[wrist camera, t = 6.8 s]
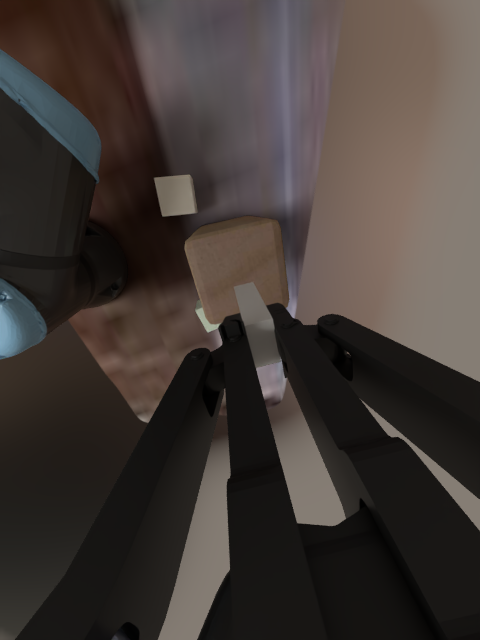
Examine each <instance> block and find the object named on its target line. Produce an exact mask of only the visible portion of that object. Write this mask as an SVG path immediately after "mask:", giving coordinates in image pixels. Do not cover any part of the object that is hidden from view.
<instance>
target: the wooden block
mask: <svg viewBox="0 0 480 640" xmlns="http://www.w3.org/2000/svg"><path fill="white" fill-rule="evenodd" d="M185 252H186V256H187V259H188V262H189V265H190V269H191V272H192V275H193V278H194V282H195V285H196V288H197V291H198V295H199V298H200V301H201V304H202V308H203V311H204V314H205V317H206V319H207V320H208V322H209V323H210V324H215V325H216V324H220V323H222V322H223V320H224V318H225V317H226V316H230V315H233V314H237V313H240V309H239V305H238V301H237V297H236V293H235V289H234V287H235V286H239V285H243V284H247V283H251V282H253V283H254V285H255V286H256V288H257V290H258V292H259V294H260V296H261V298H262V300H263V301H264V303H265V305H270V304H274V303H280V304H283V305H284V307H285V308H286V307H287V306H288V302H289V292H288V284H287V276H286V268H285V259H284V251H283V243H282V234H281V227H280V225H279V223H278V221H277V220H274V219H268V218H261V217H254V216H243V217H239V218H234V219H230V220H226V221H221V222H217V223H213V224H209V225H204V226H201V227H200V228H198V229H197V230H196V231H195V232H194V233H193V234H192V235H191V236H190V237H189V238H188V239H187V240H186V241H185Z"/></svg>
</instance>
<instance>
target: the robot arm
mask: <svg viewBox="0 0 480 640" xmlns="http://www.w3.org/2000/svg"><path fill="white" fill-rule="evenodd" d="M100 155H101V141H100V138H99V135H98V133H97V131H96V129H95V128H94V127H93V125H92V124H91V123H90V121H89V120H88V119H87V118H86V117H85V116H84V115H83V114H82V113H81V112H80V111H79V110H78V109H76V108H75V107H74V106H73V105H72V104H71V103H70V102H68V101H67V100H66V99H65V98H64V97H62V96H61V95H60V94H59V93H58V92H56V91H55V90H54V89H53V88H51V87H50V86H49V85H48V84H46V83H45V82H44V81H42V80H41V79H40V78H39V77H37V76H36V75H35V74H33V73H32V72H31V71H29V70H28V69H27V68H25V67H24V66H23V65H21V64H20V63H19V62H17V61H16V60H15V59H13V58H12V57H11V56H9V55H8V54H6V53H5V52H4V51H2V50H1V49H0V359H4V358H7V357H11V356H14V355H16V354H19V353H21V352H22V351H24V350H26V349H28V348H29V347H31V346H33V345H36V344H38V343H40V341H42V340H43V338H45V336H46V335H48V334H49V333H50V332H52V331H53V330H54V329H56V328H57V327H58V326H60V325H61V324H62V323H64V322H65V321H67V320H68V319H69V318H71V317H72V316H73V315H75V314H76V313H77V312H79V311H80V310H81V309H87V308H94V307H99V306H102V305H104V304H106V303H108V302H110V301H111V300H113V299H114V298H115V297H116V296H117V295H118V294H119V293H120V292H121V291H122V290H123V288H124V286H125V284H126V281H127V276H128V267H127V262H126V258H125V256H124V253H123V251H122V249H121V248H120V246H119V244H118V243H117V242H116V241H115V239H114V238H113V237H112V236H111V235H110V234H109V233H108V232H106V231H105V230H104V229H102V228H101V227H99V226H98V225H96V224H94V223H92V222H89V221H88V219H89V215H90V210H91V205H92V200H93V195H94V191H95V186H96V184H98V182H99V177H98V168H99V162H100ZM234 289H235V293H236V297H237V301H238V305H239V309H240V313H237V314H233V315H230V316H226V317H225V318H224V320H223V322H222V323H221V324H220V325H219V327H218V329H219V332H220V336H221V339H222V344H223V345H222V346H221V347H219V348H218V349H216V350H214V351H212V352H210V351H209V349H207V348H198V349H195V350H192V351H191V352H190V353H188V354H187V355H186V356H185V358H184V360H183V362H182V363H181V365H180V367H179V369H178V371H177V372H176V374H175V376H174V378H173V380H172V382H171V383H170V385H169V387H168V389H167V391H166V392H165V394H164V396H163V398H162V400H161V401H160V403H159V405H158V407H157V409H156V411H155V412H154V414H153V416H152V418H151V420H150V421H149V423H148V425H147V427H146V429H145V431H144V432H143V434H142V436H141V438H140V440H139V441H138V443H137V445H136V447H135V449H134V450H133V452H132V454H131V456H130V458H129V459H128V461H127V464H126V465H125V467H124V469H123V470H122V472H121V474H120V476H119V478H118V479H117V481H116V483H115V485H114V487H113V489H112V491H111V492H110V494H109V496H108V498H107V499H106V501H105V503H104V505H103V507H102V508H101V510H100V512H99V514H98V516H97V517H96V519H95V521H94V523H93V525H92V527H91V528H90V530H89V532H88V534H87V536H86V538H85V539H84V541H83V543H82V545H81V546H80V549H79V550H78V552H77V554H76V556H75V557H74V559H73V561H72V563H71V565H70V566H69V568H68V570H67V572H66V574H65V575H64V577H63V578H62V579H61V581H60V582H59V583H58V585H57V586H56V587H55V588H54V590H53V591H52V592H51V594H50V595H49V596H48V597H47V599H46V600H45V601H44V603H43V604H42V605H41V607H40V608H39V609H38V611H37V612H36V613H35V614H34V616H33V617H32V618H31V619H30V621H29V622H28V623H27V625H26V626H25V627H24V629H23V630H22V631H21V632H20V634H19V635H18V636H17V638H16V639H15V640H158V637H159V634H160V631H161V629H162V626H163V623H164V621H165V618H166V614H167V611H168V607H169V604H170V600H171V597H172V594H173V590H174V587H175V583H176V579H177V575H178V571H179V567H180V563H181V559H182V555H183V551H184V548H185V544H186V540H187V535H188V532H189V528H190V524H191V520H192V516H193V512H194V508H195V504H196V501H197V496H198V493H199V489H200V485H201V481H202V477H203V473H204V469H205V465H206V461H207V457H208V454H209V449H210V445H211V442H212V438H213V434H214V430H215V426H216V422H217V418H218V414H219V410H220V407H221V403H222V399H223V395H224V389H225V391H226V406H227V422H228V436H229V453H230V468H231V476H230V478H229V479H228V481H227V509H228V529H229V530H228V531H229V553H230V571H229V572H228V573H227V575H226V576H225V578H224V580H223V582H222V584H221V585H220V587H219V589H218V591H217V594H216V596H215V598H214V601H213V603H212V605H211V608H210V610H209V613H208V615H207V618H206V620H205V622H204V625H203V627H202V629H201V632H200V634H199V637H198V639H197V640H480V531H479V530H478V528H477V527H476V526H475V525H474V523H473V522H472V521H471V520H470V519H469V517H468V516H467V515H466V514H465V513H464V511H463V510H462V509H461V508H460V506H459V505H458V504H457V503H456V502H455V500H454V499H453V498H452V497H451V496H450V494H449V493H448V492H447V491H446V490H445V488H444V487H443V486H442V485H441V483H440V482H439V481H438V480H437V479H436V478H435V476H434V475H433V474H432V473H431V471H430V470H429V469H428V468H427V466H426V465H425V464H424V463H423V462H422V461H421V459H420V458H419V457H418V455H417V454H416V453H415V452H414V451H413V449H412V448H411V447H410V446H409V445H408V444H407V443H406V442H405V441H404V440H402V439H400V438H399V437H390V436H388V435H387V433H386V432H385V431H384V430H383V429H382V427H381V426H380V425H379V423H378V422H377V421H376V419H375V418H374V417H373V416H372V414H371V413H370V412H369V410H368V409H367V408H366V406H365V405H364V404H363V403H362V401H364V402H365V403H366V404H367V405H368V406H369V407H371V408H372V409H373V410H374V411H375V412H377V413H378V414H379V415H380V416H381V417H382V418H384V419H385V420H386V421H387V422H388V423H390V424H391V425H392V426H393V427H394V428H396V429H397V430H398V431H399V432H400V433H402V434H403V435H404V436H405V437H407V439H409V440H410V441H411V442H412V443H413V444H415V445H416V446H417V447H418V448H419V449H421V450H422V451H423V452H424V453H425V454H427V455H428V456H429V457H430V458H431V459H432V460H434V461H435V462H436V463H437V464H438V465H439V466H441V467H442V468H443V469H444V470H445V471H447V472H448V473H449V474H450V475H451V476H452V477H454V478H455V479H456V480H457V481H459V482H460V483H461V484H462V485H463V486H464V487H466V488H467V489H468V490H469V491H470V492H472V493H473V494H474V495H475V496H476V497H477V498H479V499H480V382H478V381H476V380H474V379H472V378H470V377H468V376H466V375H464V374H462V373H460V372H458V371H455V370H453V369H451V368H449V367H447V366H445V365H443V364H441V363H439V362H437V361H435V360H433V359H431V358H428V357H426V356H424V355H422V354H420V353H418V352H416V351H414V350H412V349H410V348H407V347H406V346H403V345H401V344H399V343H397V342H395V341H393V340H391V339H389V338H387V337H384V336H383V335H381V334H379V333H376V332H374V331H372V330H370V329H368V328H366V327H364V326H362V325H360V324H358V323H356V322H354V321H352V320H350V319H347V318H345V317H343V316H341V315H335V314H328V315H325V316H322V317H320V318H319V319H318V320H317V322H318V323H317V324H318V325H303V324H302V323H301V321H299V320H298V319H294V318H292V316H291V315H290V314H289V312H288V311H287V309H286V308H285V307H284V305H283V304H280V303H274V304H270V305H265V303H264V301H263V300H262V298H261V296H260V294H259V292H258V290H257V288H256V286H255V285H254V283H253V282H251V283H247V284H243V285H239V286H235V287H234ZM347 352H348V353H349V354H350V355H351V356H350V355H349V354H347ZM280 357H281V359H282V364H283V370H284V375H285V378H288V380H289V382H290V385H291V387H292V389H293V391H294V394H295V396H296V398H297V401H298V403H299V405H300V408H301V410H302V412H303V415H304V417H305V419H306V422H307V424H308V426H309V429H310V430H311V433H312V435H313V438H314V440H315V443H316V445H317V447H318V449H319V452H320V454H321V456H322V459H323V461H324V463H325V466H326V468H327V470H328V473H329V475H330V477H331V480H332V482H333V484H334V487H335V489H336V491H337V493H338V496H339V498H340V501H341V503H342V506H343V510H344V513H345V516H346V519H345V520H344V521H342V522H341V523H340V524H338V525H336V526H322V525H310V524H298V523H297V522H296V518H295V514H294V511H293V507H292V503H291V500H290V495H289V492H288V488H287V484H286V480H285V476H284V473H283V469H282V465H281V462H280V458H279V454H278V451H277V447H276V443H275V439H274V435H273V432H272V428H271V424H270V421H269V417H268V413H267V409H266V405H265V401H264V398H263V394H262V390H261V386H260V383H259V379H258V375H257V371H256V368H258V367H262V366H266V365H269V364H273V363H277V362H281V360H280ZM359 398H360V399H361V400H362V401H361V400H360V399H359Z"/></svg>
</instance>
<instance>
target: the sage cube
mask: <svg viewBox="0 0 480 640" xmlns="http://www.w3.org/2000/svg"><path fill="white" fill-rule="evenodd" d="M195 311H196V313H197V315H198V316H199V318H200V320H201V322H202V323H203V325H204V327H205V329H206V330H207V332H210V331H212V330H215V329H217V328H218V327H219V325H220V324H221V323H220V324H216V325H215V324H210V323H209V322H208V320H207V319H206V317H205V314H204V311H203V308H202V304H201V301H200V300H198V301H197V304H196V309H195Z"/></svg>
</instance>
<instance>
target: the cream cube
mask: <svg viewBox="0 0 480 640" xmlns="http://www.w3.org/2000/svg"><path fill="white" fill-rule="evenodd" d="M154 181H155V185H156V190H157V195H158V199H159V204H160V208H161V213H162V217H164V216H174V215H184V214H194V213H198V210H197V203H196V197H195V190H194V184H193V179H192V177H191V176H190V174H189V175H178V176H167V177H157V178H154Z"/></svg>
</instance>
